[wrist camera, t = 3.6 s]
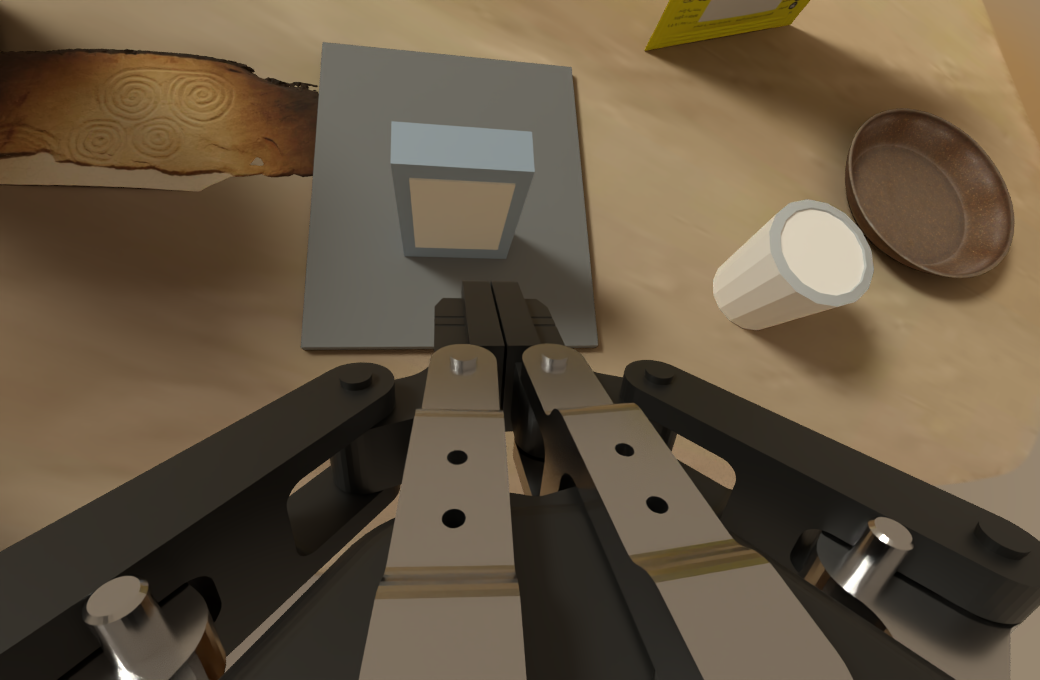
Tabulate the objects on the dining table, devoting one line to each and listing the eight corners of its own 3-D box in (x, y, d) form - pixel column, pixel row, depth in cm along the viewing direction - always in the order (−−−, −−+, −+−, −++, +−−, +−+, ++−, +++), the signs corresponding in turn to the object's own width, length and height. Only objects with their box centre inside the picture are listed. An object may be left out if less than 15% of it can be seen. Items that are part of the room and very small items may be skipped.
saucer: (975, 317, 38) (1015, 306, 35) (810, 245, 37) (838, 228, 34) (983, 172, 42) (1018, 153, 40) (836, 105, 41) (862, 80, 39)
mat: (303, 349, 28) (300, 347, 27) (324, 49, 34) (322, 42, 33) (595, 347, 31) (598, 345, 31) (569, 73, 37) (571, 67, 36)
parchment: (-81, 183, 27) (-98, 174, 26) (-42, 42, 29) (-56, 29, 29) (371, 204, 32) (369, 197, 31) (374, 81, 34) (373, 71, 33)
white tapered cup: (785, 351, 34) (872, 322, 27) (697, 320, 33) (763, 282, 26) (796, 267, 36) (878, 221, 29) (712, 237, 35) (777, 182, 28)
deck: (404, 257, 30) (390, 165, 21) (404, 224, 30) (391, 121, 21) (506, 260, 31) (534, 173, 22) (504, 228, 32) (532, 131, 23)
